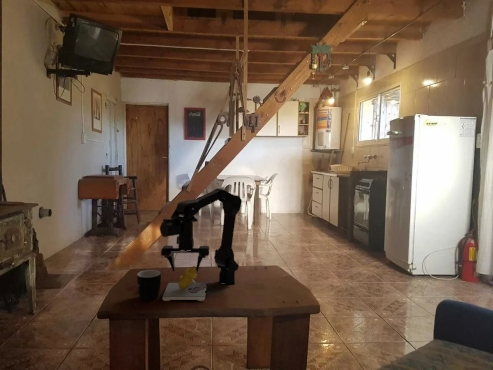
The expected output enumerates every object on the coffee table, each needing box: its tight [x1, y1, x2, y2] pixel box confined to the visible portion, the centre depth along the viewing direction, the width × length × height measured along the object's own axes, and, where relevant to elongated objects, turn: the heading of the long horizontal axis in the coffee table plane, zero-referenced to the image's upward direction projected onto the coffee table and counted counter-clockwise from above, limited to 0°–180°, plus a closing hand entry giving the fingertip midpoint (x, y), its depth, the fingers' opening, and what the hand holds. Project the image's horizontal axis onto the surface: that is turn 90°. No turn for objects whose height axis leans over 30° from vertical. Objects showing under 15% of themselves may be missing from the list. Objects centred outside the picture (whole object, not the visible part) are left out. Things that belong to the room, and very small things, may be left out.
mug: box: [136, 269, 162, 302], centre depth 140 cm, size 12×9×10 cm
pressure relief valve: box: [178, 265, 198, 289], centre depth 149 cm, size 6×12×10 cm
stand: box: [162, 282, 207, 302], centre depth 147 cm, size 16×15×2 cm
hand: (185, 271), depth 146 cm, fingers open, 9 cm apart
